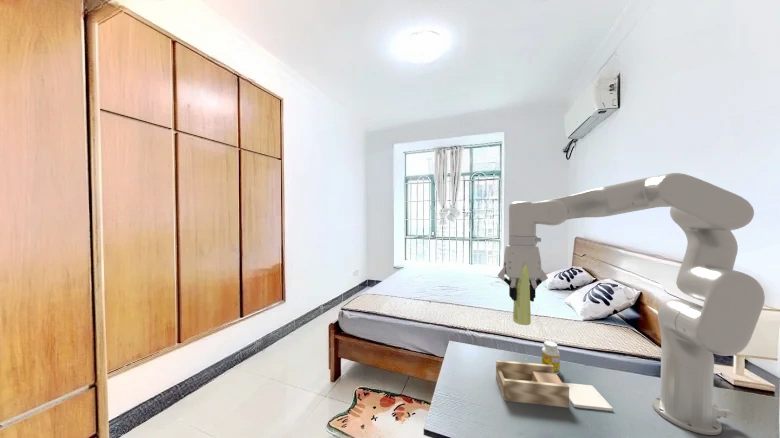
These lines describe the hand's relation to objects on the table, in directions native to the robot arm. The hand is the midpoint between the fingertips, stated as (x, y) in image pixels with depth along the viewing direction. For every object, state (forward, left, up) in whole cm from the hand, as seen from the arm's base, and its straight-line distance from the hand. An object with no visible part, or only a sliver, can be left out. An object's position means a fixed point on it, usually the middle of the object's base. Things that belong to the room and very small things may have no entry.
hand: (522, 299), depth 82 cm
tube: (0, 0, -8) cm, 8 cm away
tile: (-18, 0, -29) cm, 34 cm away
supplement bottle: (-14, -13, -29) cm, 35 cm away
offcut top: (-8, 0, -27) cm, 28 cm away
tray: (-2, 0, -29) cm, 29 cm away
